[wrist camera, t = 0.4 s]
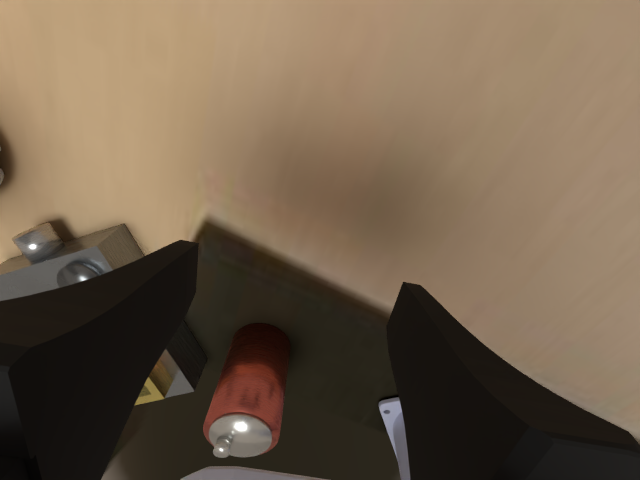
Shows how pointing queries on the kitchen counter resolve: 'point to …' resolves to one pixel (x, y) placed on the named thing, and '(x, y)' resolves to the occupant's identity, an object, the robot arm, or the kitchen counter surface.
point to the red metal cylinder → (249, 393)
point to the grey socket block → (87, 262)
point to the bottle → (1, 173)
